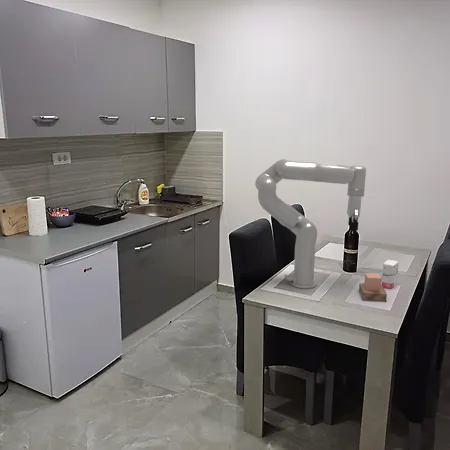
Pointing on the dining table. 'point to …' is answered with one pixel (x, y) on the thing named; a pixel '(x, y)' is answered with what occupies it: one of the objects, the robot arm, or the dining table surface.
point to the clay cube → (372, 282)
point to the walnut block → (372, 294)
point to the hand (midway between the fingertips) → (352, 227)
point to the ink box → (390, 274)
